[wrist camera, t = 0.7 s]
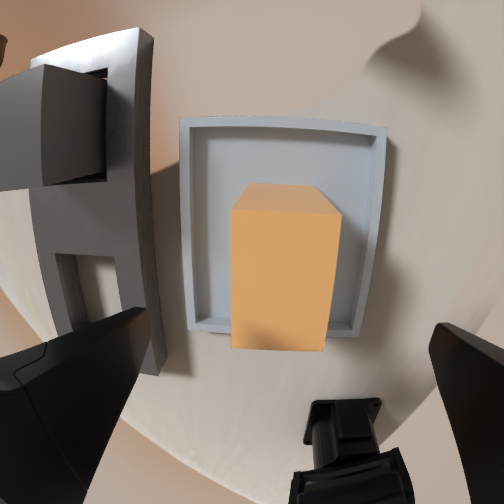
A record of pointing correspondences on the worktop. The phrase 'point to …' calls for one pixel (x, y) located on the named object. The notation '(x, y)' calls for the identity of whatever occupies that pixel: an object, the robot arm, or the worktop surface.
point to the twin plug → (51, 127)
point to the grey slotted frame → (105, 193)
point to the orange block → (282, 267)
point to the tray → (277, 172)
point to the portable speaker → (2, 47)
